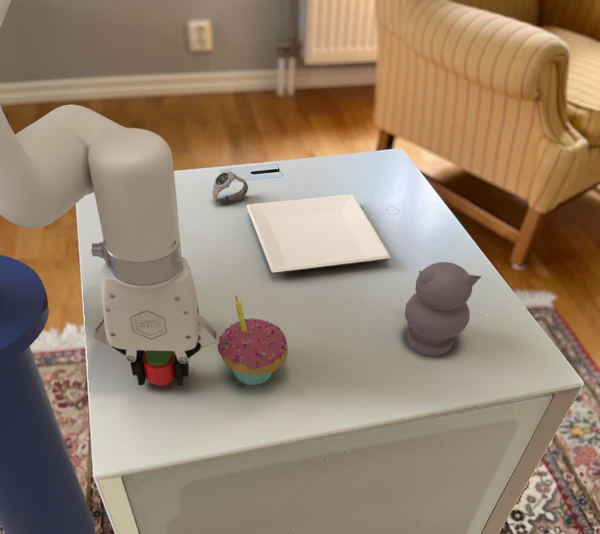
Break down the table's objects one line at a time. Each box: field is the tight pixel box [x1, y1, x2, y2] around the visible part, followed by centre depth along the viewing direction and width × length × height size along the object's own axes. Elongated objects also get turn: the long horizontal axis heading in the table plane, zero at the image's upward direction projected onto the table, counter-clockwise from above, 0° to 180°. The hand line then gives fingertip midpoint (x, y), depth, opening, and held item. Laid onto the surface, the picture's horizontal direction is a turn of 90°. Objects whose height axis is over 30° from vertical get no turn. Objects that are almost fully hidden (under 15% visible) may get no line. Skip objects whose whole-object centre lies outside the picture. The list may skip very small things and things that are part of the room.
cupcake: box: [217, 295, 289, 386], centre depth 77 cm, size 9×8×12 cm
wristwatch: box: [211, 171, 249, 206], centre depth 107 cm, size 4×6×5 cm, turn 118°
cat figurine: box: [404, 261, 482, 357], centre depth 83 cm, size 8×8×12 cm
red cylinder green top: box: [142, 350, 176, 387], centre depth 78 cm, size 4×4×4 cm
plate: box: [246, 193, 391, 274], centre depth 101 cm, size 19×19×2 cm
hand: (161, 376), depth 79 cm, fingers closed on red cylinder green top, 4 cm apart
